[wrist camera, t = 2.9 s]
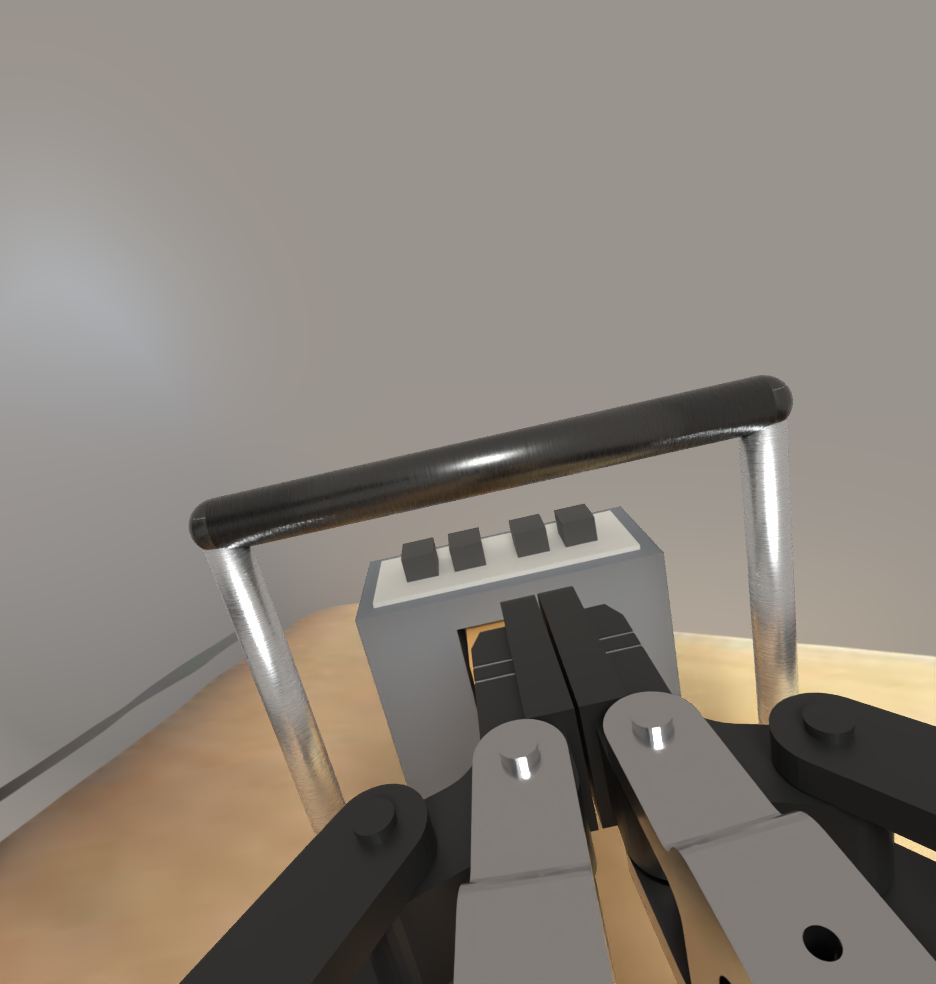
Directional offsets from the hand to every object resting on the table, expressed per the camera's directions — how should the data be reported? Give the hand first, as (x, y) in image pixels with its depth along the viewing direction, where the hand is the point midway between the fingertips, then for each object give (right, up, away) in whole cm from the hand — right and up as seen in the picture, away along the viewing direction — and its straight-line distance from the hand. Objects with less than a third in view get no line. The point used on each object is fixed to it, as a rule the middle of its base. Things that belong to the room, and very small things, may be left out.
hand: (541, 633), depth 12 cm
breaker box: (+4, -14, +29) cm, 33 cm away
